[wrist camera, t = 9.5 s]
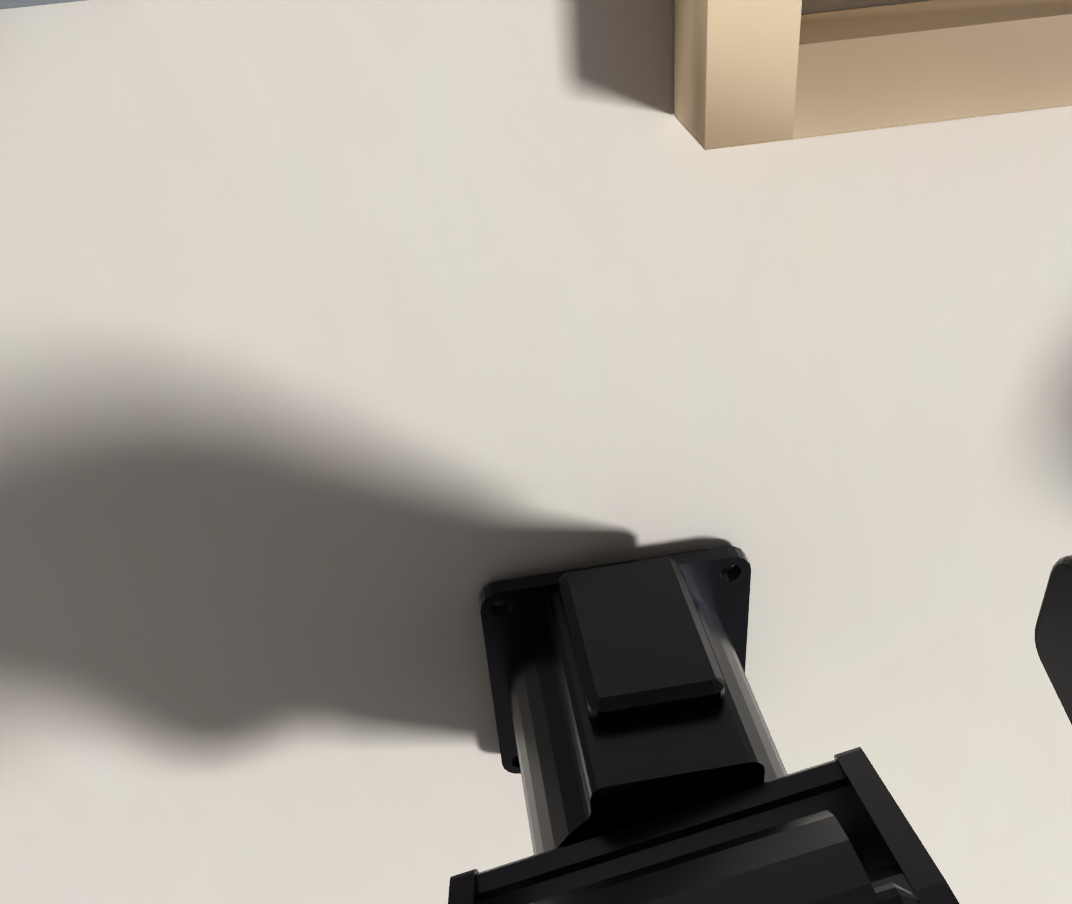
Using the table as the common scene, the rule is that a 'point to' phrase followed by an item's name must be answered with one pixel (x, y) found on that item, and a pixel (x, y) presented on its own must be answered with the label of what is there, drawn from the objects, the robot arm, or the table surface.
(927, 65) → the pocket frame
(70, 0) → the coaster
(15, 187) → the table surface
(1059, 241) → the table surface
